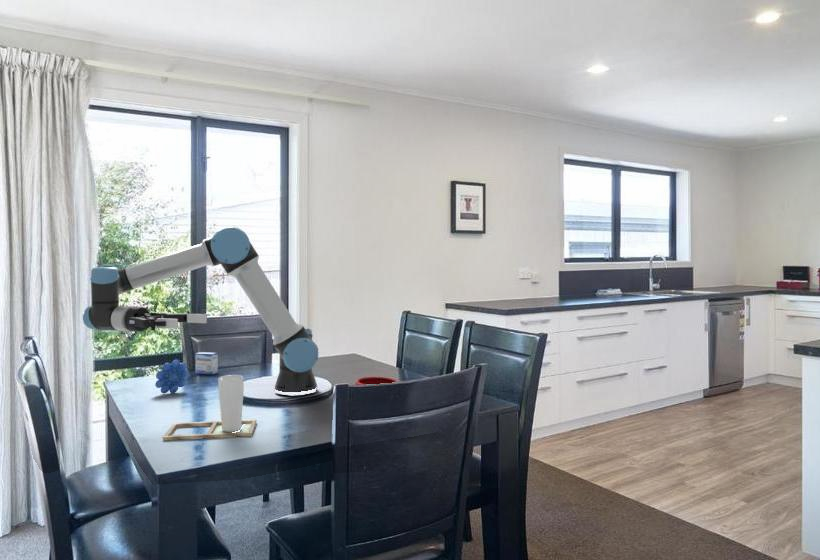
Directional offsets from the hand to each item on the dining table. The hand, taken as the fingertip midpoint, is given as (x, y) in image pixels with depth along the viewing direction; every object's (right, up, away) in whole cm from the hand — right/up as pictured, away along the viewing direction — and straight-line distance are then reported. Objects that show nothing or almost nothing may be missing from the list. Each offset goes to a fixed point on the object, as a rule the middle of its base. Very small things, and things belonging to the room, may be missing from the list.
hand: (192, 321), depth 168 cm
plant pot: (+54, -30, +4) cm, 62 cm away
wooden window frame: (+9, -30, -8) cm, 33 cm away
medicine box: (-21, -27, +72) cm, 80 cm away
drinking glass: (+14, -30, -7) cm, 34 cm away
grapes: (-22, -29, +37) cm, 52 cm away
